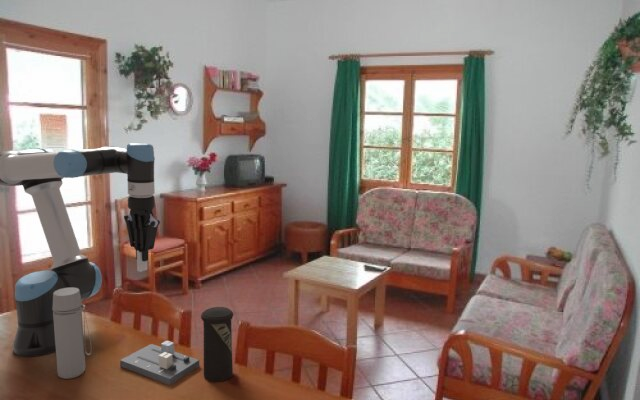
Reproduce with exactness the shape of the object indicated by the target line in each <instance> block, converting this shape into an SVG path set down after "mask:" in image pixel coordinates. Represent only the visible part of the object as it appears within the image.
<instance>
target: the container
mask: <svg viewBox="0 0 640 400" xmlns="http://www.w3.org/2000/svg"><path fill="white" fill-rule="evenodd" d="M233 317H234V312H233V311H232V310H231V309H230V308H229V307H225V306H214V307H213V306H212V307H209V308H207V309H205V310H204V311H202V312H201V315H200V318H201V320H202V321H203V323H202V324H203V325H202V326H203V377H204V379H206V380H207V381H209V382H214V383H219V382H225V381H227V380H229V379H231V378H232V377H233V374H234V370H233V368H234V367H233V364H234V363H233V339H232V338H233V337H232V336H233V335H232V332H233V331H232V320H233Z"/></svg>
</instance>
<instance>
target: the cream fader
mask: <svg viewBox="0 0 640 400" xmlns="http://www.w3.org/2000/svg"><path fill="white" fill-rule="evenodd" d="M172 365H173V357H172V354H170V353H167V352H164V353H162V354H160V355H159V367H162V368H164V369H168V368H170V366H172Z"/></svg>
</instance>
